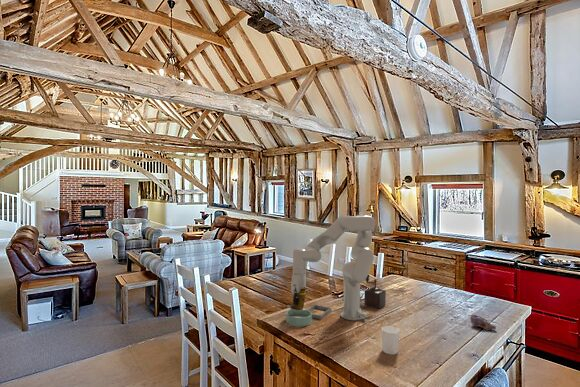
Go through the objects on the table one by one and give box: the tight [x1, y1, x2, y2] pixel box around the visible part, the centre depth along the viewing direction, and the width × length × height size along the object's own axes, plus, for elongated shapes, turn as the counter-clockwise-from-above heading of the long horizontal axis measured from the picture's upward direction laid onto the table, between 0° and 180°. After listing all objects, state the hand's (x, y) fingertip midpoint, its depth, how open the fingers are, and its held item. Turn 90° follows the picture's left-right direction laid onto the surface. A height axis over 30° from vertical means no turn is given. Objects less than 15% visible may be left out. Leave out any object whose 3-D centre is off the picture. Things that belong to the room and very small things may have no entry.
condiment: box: [286, 287, 307, 311], centre depth 180 cm, size 7×8×12 cm
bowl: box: [285, 308, 313, 327], centre depth 181 cm, size 14×14×4 cm
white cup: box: [381, 325, 401, 355], centre depth 148 cm, size 8×8×10 cm
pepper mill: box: [363, 273, 387, 309], centre depth 210 cm, size 16×11×18 cm
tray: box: [306, 304, 332, 321], centre depth 193 cm, size 11×15×2 cm
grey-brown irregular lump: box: [469, 314, 497, 331], centre depth 174 cm, size 12×8×6 cm, turn 40°
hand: (298, 302), depth 181 cm, fingers closed on condiment, 6 cm apart
